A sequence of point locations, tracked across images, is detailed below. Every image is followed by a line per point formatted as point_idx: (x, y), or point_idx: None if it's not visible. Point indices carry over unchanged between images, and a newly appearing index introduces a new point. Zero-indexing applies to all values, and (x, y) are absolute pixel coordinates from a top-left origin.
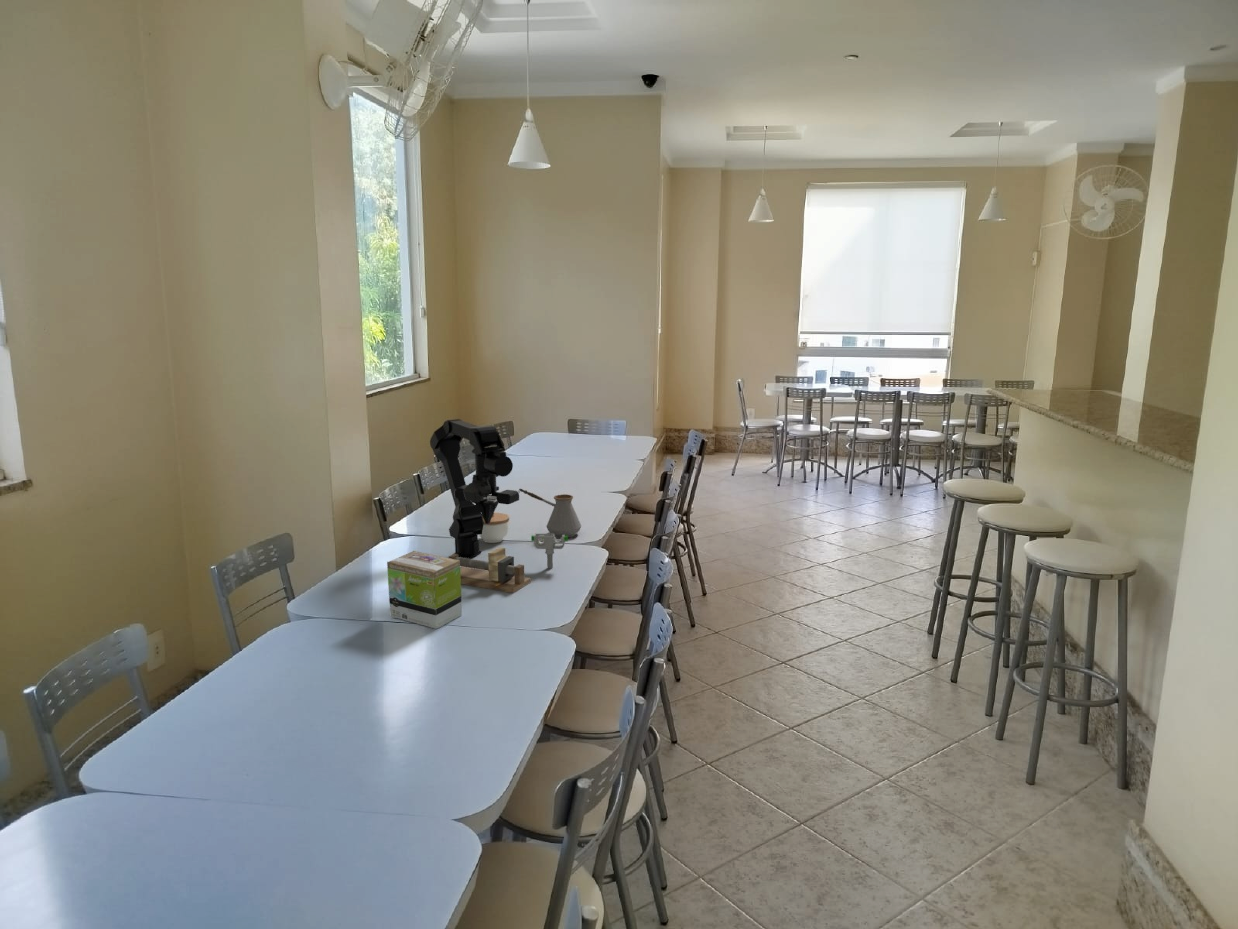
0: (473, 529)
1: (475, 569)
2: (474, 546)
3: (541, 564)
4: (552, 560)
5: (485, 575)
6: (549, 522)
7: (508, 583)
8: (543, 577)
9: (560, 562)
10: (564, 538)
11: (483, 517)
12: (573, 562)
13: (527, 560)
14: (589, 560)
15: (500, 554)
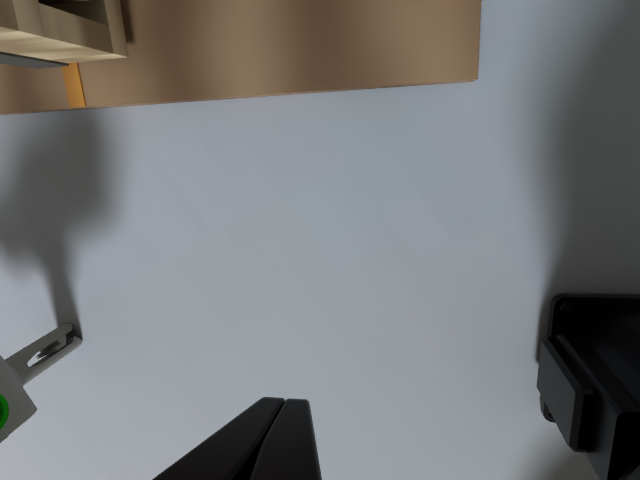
0: (634, 477)
1: (346, 77)
2: (563, 375)
3: (135, 365)
4: (33, 364)
5: (211, 8)
6: None
7: None
8: (7, 209)
9: (85, 417)
10: None
11: (301, 462)
12: (43, 434)
13: (229, 392)
14: (11, 474)
15: None
